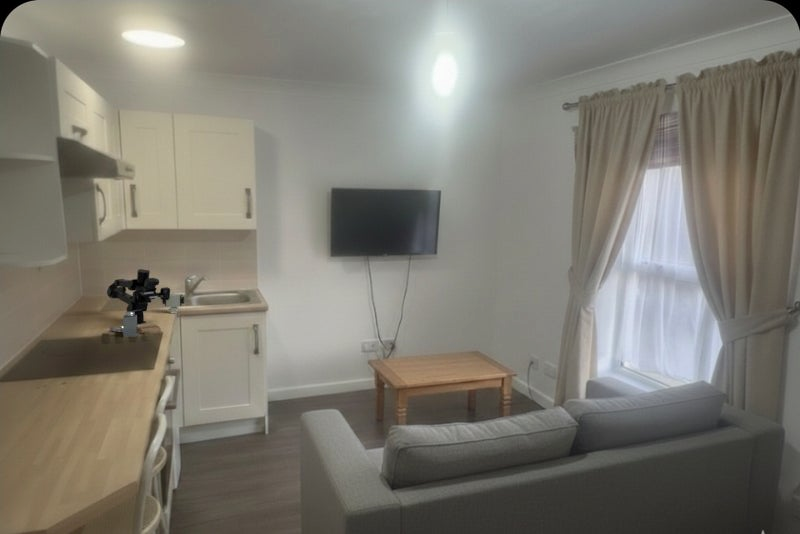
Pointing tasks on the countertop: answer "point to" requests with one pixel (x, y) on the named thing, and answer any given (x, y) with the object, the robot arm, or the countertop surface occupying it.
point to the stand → (149, 328)
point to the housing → (130, 324)
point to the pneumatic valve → (174, 302)
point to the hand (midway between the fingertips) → (159, 300)
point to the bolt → (116, 329)
